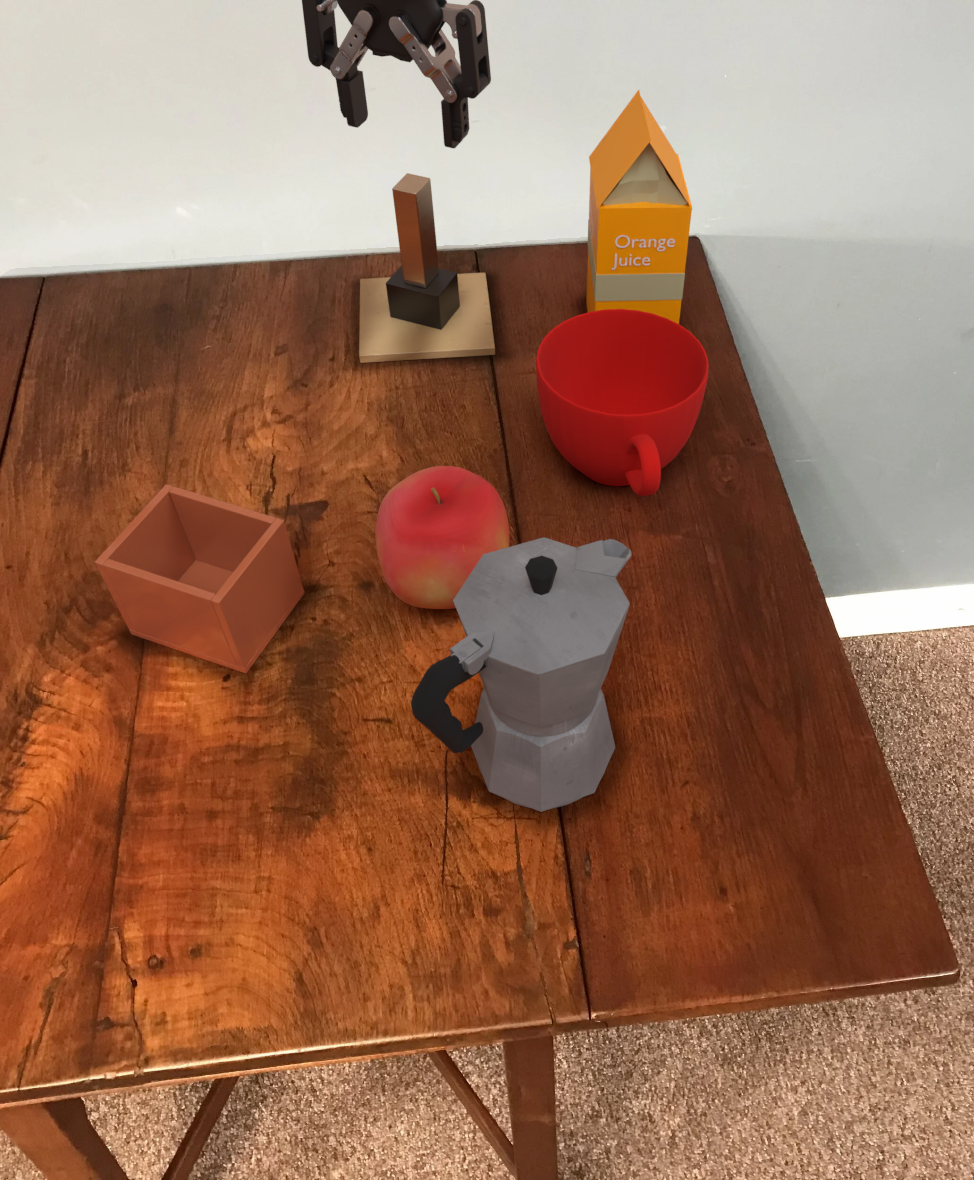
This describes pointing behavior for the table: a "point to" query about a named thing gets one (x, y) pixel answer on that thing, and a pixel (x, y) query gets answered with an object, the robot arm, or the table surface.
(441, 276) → the steel square post
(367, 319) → the board
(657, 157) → the orange juice
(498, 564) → the coffeepot
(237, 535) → the box
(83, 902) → the table surface
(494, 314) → the table surface
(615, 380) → the ceramic cup
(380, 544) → the apple
